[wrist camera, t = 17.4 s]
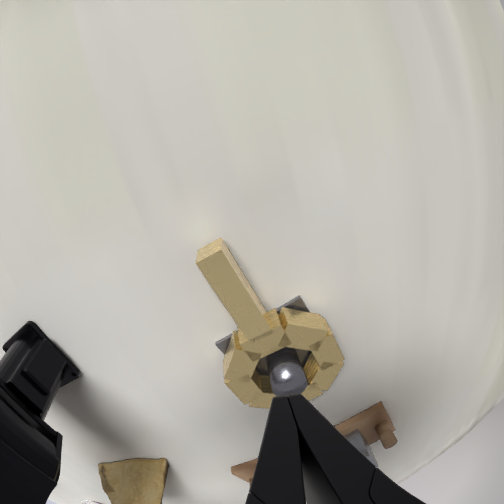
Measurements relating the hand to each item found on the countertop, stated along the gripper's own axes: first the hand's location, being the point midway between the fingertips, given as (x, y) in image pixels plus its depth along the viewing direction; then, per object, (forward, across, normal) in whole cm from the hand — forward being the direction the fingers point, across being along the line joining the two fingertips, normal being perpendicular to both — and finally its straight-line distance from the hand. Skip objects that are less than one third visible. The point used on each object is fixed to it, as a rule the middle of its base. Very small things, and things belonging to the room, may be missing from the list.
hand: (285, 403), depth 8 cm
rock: (+12, +16, +28) cm, 34 cm away
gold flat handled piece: (+11, -1, +5) cm, 13 cm away
